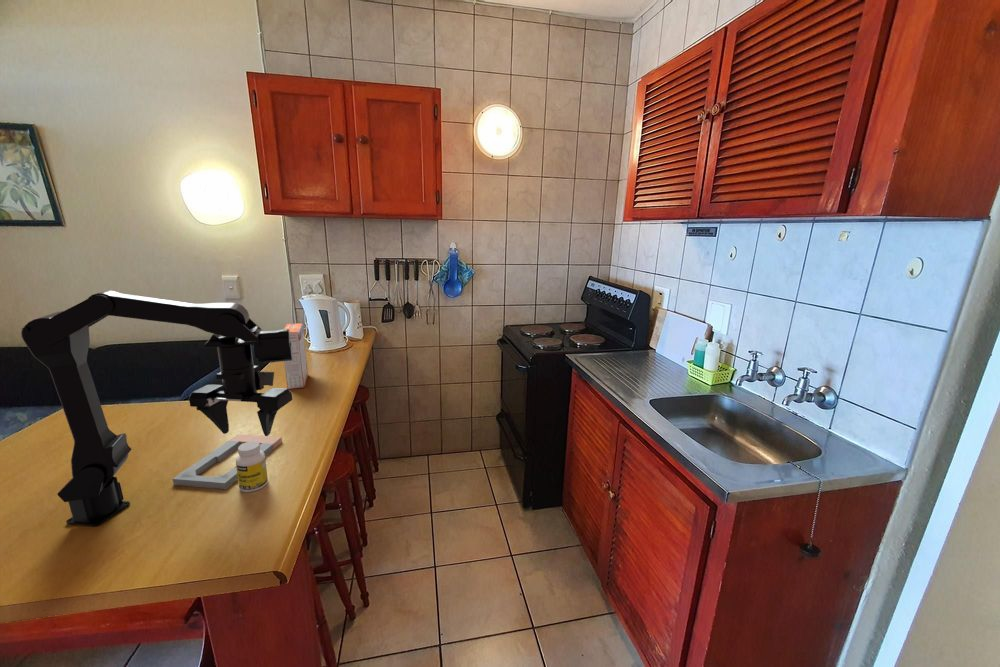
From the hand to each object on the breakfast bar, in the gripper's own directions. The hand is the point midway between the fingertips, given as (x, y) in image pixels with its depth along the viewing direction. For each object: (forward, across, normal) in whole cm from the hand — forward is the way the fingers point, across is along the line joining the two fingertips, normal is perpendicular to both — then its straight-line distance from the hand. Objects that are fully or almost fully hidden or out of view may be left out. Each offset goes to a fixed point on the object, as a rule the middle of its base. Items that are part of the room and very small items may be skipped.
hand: (246, 434), depth 84 cm
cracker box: (+12, +24, -59) cm, 65 cm away
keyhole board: (+12, +10, -8) cm, 18 cm away
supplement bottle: (+12, 0, +1) cm, 12 cm away
